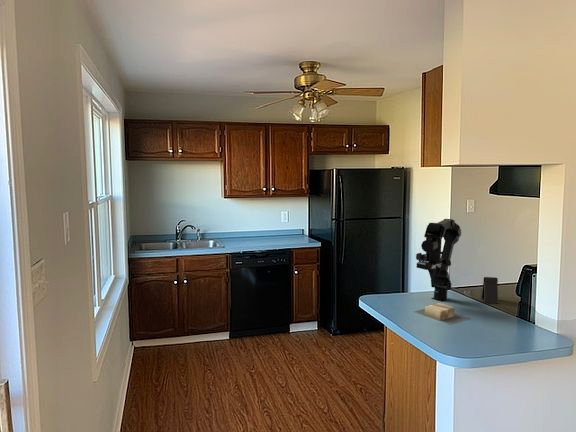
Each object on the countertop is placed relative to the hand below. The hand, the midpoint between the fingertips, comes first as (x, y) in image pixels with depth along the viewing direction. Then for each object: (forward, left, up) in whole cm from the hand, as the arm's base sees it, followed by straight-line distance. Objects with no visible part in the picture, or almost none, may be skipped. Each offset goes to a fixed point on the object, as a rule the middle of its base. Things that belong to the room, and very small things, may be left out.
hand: (432, 281), depth 219 cm
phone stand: (-32, +10, -12) cm, 36 cm away
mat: (+8, +12, -12) cm, 19 cm away
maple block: (+5, +12, -10) cm, 16 cm away
